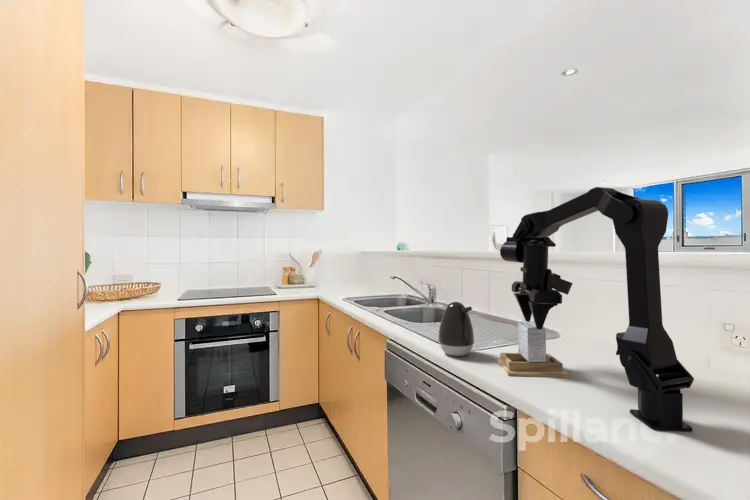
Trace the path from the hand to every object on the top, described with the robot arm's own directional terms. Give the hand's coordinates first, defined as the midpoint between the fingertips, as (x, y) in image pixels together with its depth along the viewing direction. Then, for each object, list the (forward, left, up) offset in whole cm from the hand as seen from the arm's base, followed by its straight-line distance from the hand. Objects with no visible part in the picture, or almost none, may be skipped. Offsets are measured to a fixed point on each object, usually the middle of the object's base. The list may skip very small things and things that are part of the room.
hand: (533, 325), depth 90 cm
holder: (0, +1, -11) cm, 11 cm away
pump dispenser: (+11, +18, -11) cm, 24 cm away
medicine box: (0, 0, -9) cm, 9 cm away
